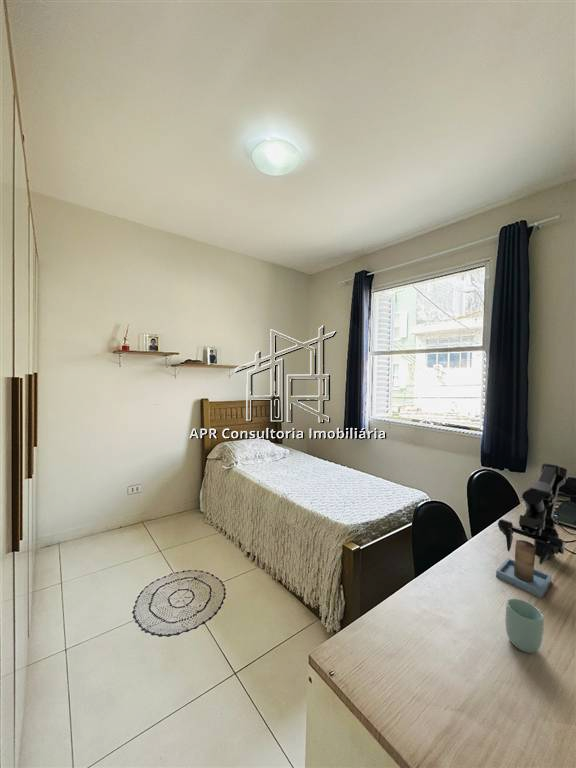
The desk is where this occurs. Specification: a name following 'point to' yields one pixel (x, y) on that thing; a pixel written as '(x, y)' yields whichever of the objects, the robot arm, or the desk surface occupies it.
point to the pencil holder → (524, 560)
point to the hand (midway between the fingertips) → (523, 557)
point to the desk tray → (535, 587)
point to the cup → (524, 625)
